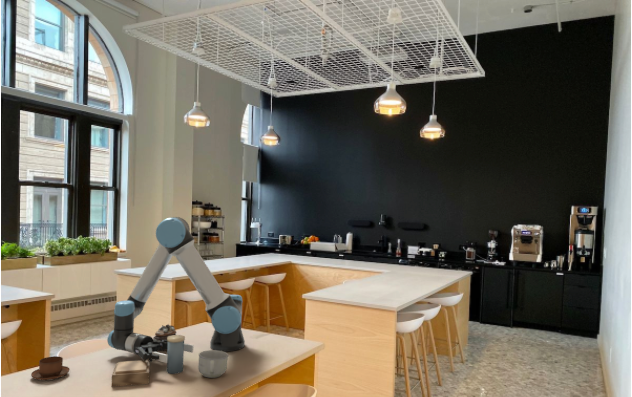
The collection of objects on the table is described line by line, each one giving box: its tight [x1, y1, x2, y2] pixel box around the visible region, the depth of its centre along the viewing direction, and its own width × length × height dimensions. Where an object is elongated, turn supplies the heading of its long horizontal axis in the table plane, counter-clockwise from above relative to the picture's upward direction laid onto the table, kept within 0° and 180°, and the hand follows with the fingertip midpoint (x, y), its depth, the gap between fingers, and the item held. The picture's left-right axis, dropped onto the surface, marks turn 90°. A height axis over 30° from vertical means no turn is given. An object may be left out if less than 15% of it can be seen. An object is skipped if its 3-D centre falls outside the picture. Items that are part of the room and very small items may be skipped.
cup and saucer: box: [30, 355, 70, 381], centre depth 166 cm, size 12×12×6 cm
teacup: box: [197, 349, 229, 379], centre depth 170 cm, size 14×11×8 cm
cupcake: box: [152, 323, 177, 352], centre depth 201 cm, size 10×10×10 cm
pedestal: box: [110, 359, 151, 388], centre depth 166 cm, size 12×12×5 cm
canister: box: [166, 334, 186, 375], centre depth 175 cm, size 6×6×13 cm
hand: (180, 353), depth 174 cm, fingers open, 13 cm apart
